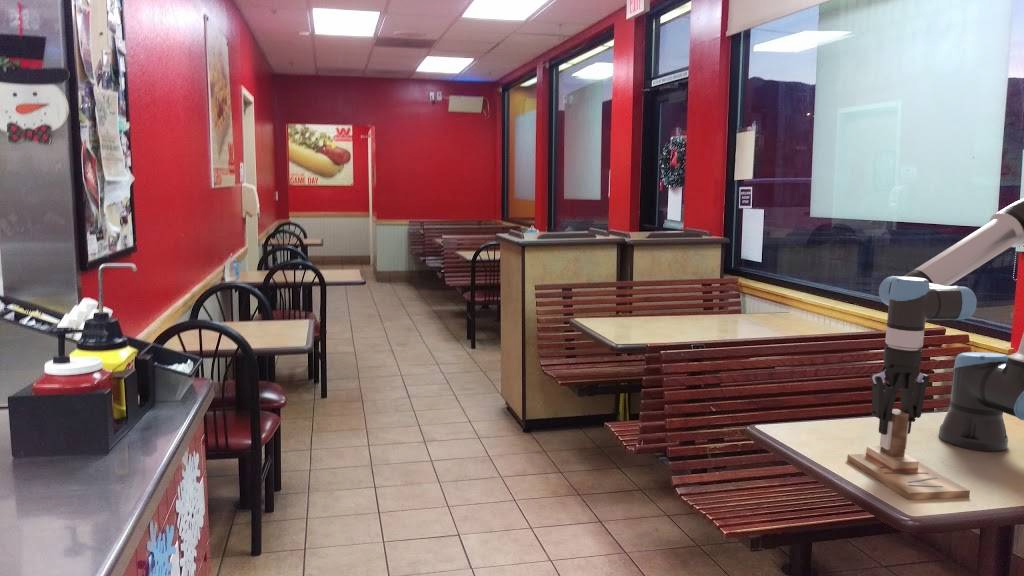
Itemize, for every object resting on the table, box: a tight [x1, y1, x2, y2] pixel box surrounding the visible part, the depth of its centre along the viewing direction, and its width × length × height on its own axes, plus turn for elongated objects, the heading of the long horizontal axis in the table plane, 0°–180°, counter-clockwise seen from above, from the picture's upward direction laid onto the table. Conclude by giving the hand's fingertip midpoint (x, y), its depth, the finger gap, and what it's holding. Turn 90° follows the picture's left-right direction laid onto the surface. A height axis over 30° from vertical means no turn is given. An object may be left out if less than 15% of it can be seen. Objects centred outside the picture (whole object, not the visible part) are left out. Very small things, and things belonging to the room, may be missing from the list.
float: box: [865, 408, 919, 471], centre depth 175 cm, size 6×10×12 cm, turn 9°
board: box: [846, 453, 971, 501], centre depth 171 cm, size 14×22×2 cm, turn 9°
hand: (892, 447), depth 175 cm, fingers closed on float, 3 cm apart
